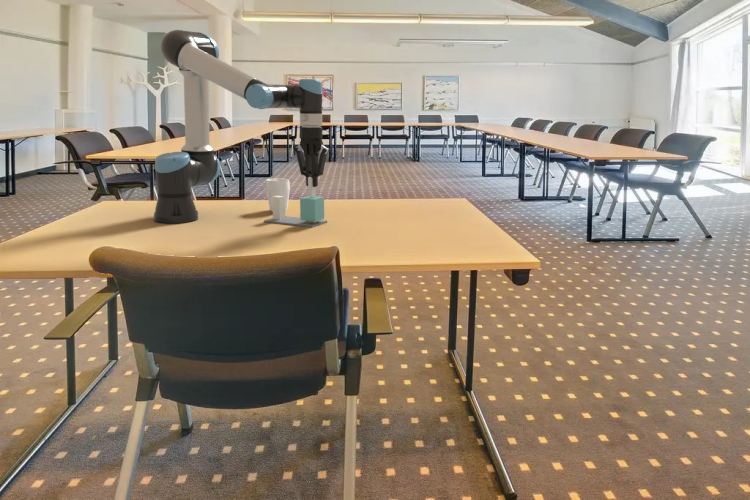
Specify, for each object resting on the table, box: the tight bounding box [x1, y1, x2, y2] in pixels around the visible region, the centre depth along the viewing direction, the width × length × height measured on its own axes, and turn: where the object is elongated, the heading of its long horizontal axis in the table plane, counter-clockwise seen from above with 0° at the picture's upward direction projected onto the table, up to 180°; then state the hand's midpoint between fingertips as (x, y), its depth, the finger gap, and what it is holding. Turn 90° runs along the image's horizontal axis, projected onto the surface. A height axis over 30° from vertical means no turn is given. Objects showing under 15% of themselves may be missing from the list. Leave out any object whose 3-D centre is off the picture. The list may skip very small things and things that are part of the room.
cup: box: [265, 177, 291, 213], centre depth 243 cm, size 9×9×12 cm
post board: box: [263, 196, 328, 228], centre depth 222 cm, size 20×10×9 cm, turn 65°
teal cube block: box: [299, 195, 325, 222], centre depth 218 cm, size 6×6×8 cm
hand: (312, 195), depth 217 cm, fingers closed
